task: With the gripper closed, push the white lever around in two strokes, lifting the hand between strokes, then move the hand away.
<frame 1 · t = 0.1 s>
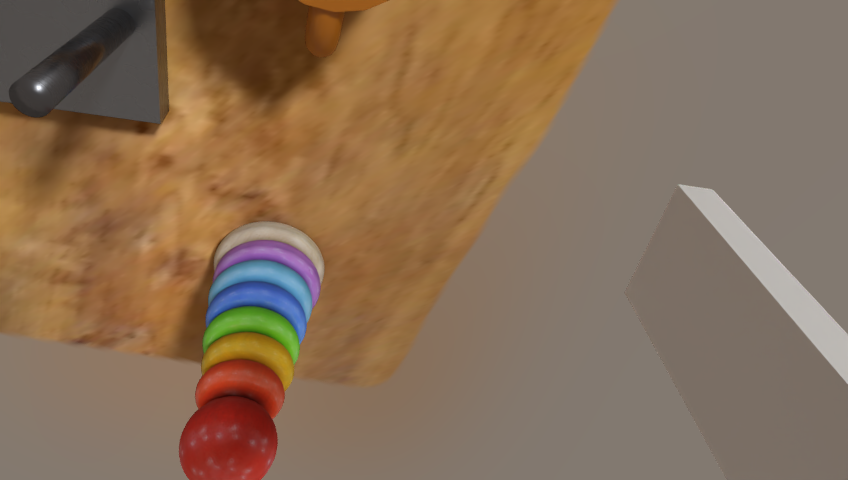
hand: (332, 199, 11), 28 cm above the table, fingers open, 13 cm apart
stacking toy: (271, 258, 46), on the table
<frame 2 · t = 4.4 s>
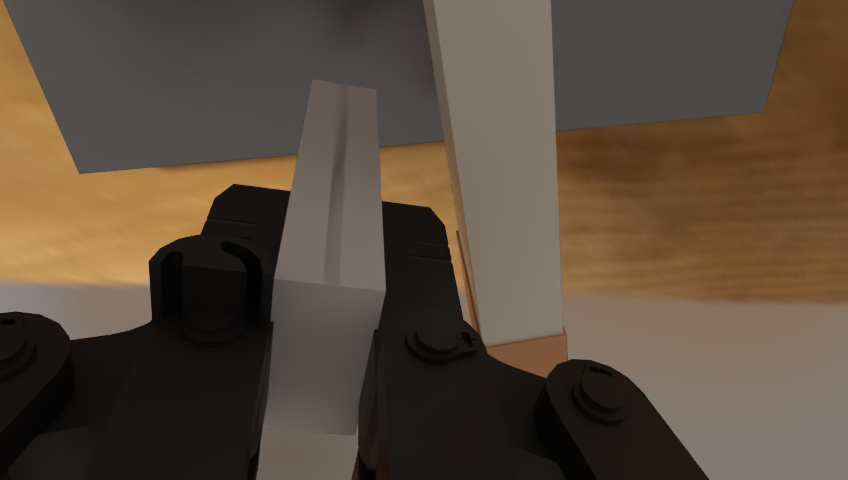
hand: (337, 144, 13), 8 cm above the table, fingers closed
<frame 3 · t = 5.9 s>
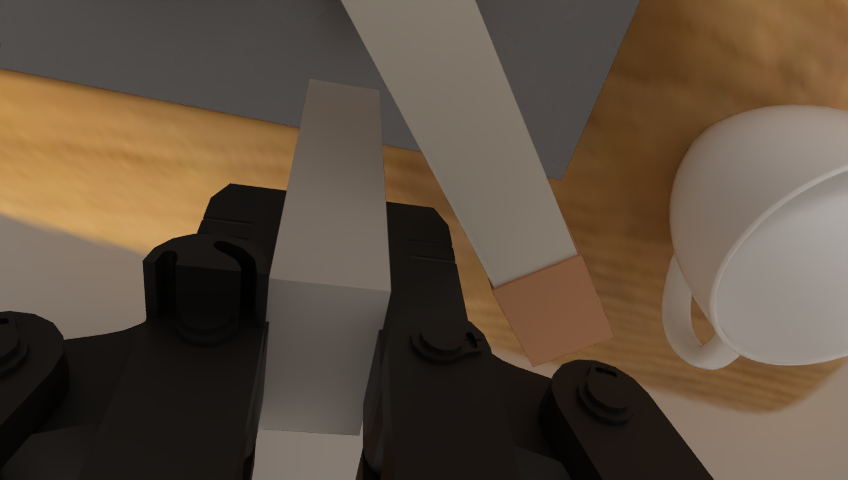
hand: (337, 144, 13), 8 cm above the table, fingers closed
cup: (711, 184, 24), on the table
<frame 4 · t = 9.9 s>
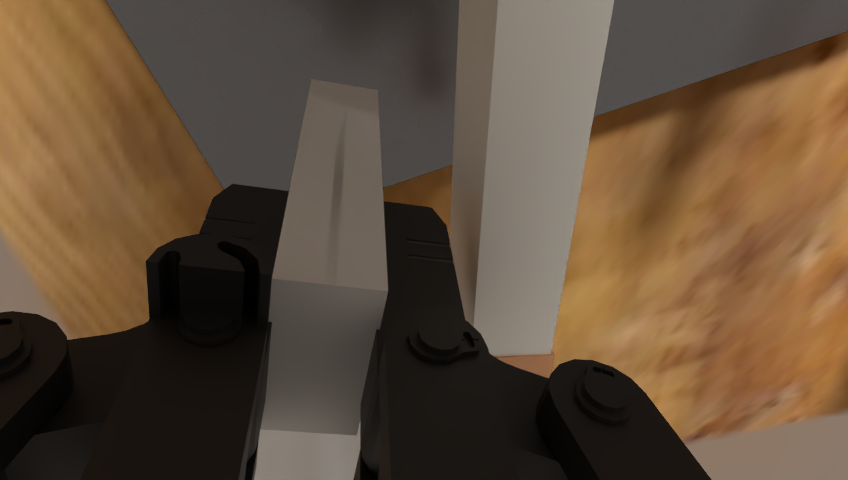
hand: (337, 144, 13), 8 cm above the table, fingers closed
cup: (337, 328, 27), on the table
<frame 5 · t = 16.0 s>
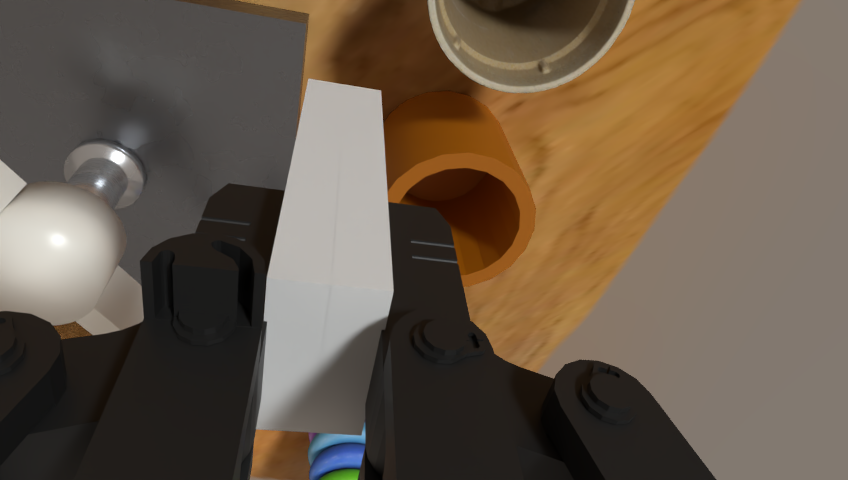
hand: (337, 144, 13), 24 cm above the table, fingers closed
base plate: (118, 157, 39), on the table
stacking toy: (353, 403, 54), on the table
white lever: (96, 292, 32), point 10 cm above the table, hinge at 130.7°
mug: (429, 170, 42), on the table
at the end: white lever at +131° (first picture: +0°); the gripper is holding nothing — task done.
